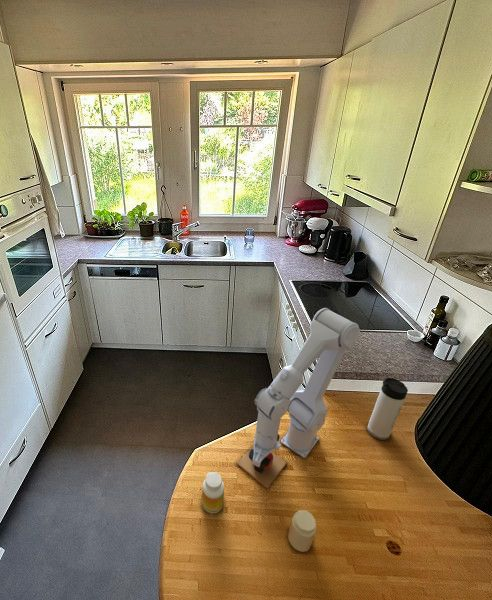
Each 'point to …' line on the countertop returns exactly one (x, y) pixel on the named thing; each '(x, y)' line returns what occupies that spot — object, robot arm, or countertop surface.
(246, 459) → the trivet
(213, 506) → the supplement bottle
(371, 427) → the travel mug
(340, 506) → the countertop surface
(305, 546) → the jar
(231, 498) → the countertop surface
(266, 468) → the lid
